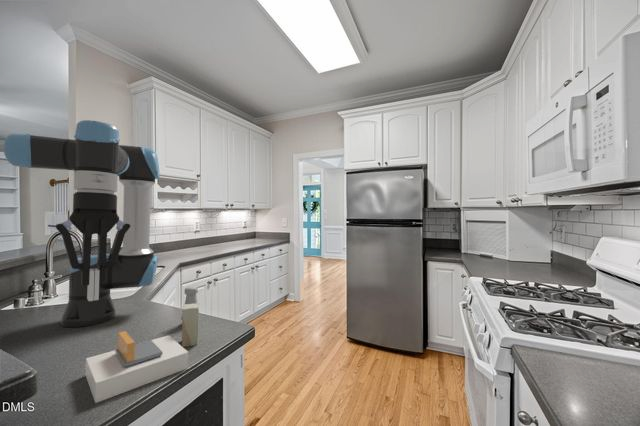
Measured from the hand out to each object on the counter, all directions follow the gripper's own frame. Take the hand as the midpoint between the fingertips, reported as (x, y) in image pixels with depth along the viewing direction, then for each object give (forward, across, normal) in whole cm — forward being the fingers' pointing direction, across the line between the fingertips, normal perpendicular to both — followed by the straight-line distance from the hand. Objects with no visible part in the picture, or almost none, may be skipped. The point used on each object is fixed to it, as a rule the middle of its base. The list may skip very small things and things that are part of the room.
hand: (92, 299), depth 60 cm
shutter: (+15, +9, 0) cm, 18 cm away
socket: (+19, +9, 0) cm, 21 cm away
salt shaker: (+20, +30, +22) cm, 42 cm away
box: (+20, +24, +7) cm, 32 cm away
